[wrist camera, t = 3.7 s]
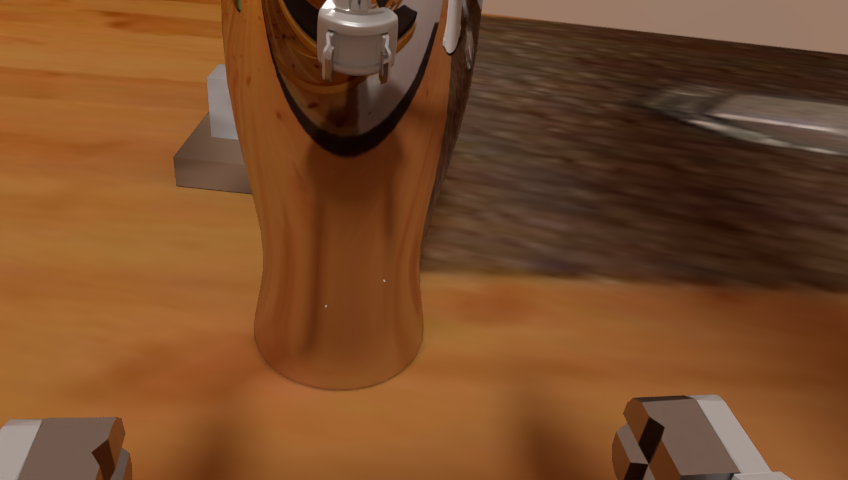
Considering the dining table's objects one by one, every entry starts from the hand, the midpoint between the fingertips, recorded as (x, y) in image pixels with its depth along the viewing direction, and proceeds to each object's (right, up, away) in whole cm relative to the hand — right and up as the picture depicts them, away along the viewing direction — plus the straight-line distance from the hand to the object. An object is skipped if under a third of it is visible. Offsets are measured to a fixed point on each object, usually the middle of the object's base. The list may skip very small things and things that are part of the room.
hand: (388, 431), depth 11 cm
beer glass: (-2, 0, +14) cm, 14 cm away
